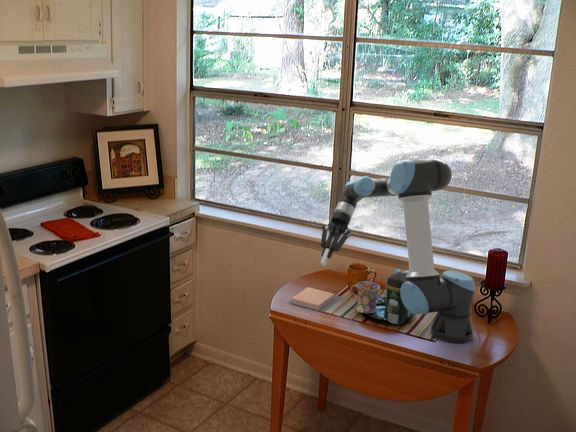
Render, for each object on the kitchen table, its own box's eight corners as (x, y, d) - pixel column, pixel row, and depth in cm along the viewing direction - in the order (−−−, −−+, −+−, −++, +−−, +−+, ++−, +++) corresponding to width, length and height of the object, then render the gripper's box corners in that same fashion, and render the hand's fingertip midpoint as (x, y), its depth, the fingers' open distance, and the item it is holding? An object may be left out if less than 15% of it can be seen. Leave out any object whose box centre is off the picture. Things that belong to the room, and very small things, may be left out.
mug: (382, 310, 256) (384, 285, 253) (371, 318, 249) (373, 292, 246) (354, 302, 262) (356, 277, 259) (343, 309, 255) (345, 284, 252)
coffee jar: (390, 313, 254) (395, 268, 249) (409, 318, 250) (414, 273, 245) (379, 321, 246) (384, 275, 241) (399, 327, 242) (404, 280, 237)
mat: (309, 290, 272) (309, 288, 272) (343, 299, 265) (344, 297, 265) (287, 304, 257) (287, 302, 257) (324, 314, 250) (324, 312, 250)
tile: (307, 287, 268) (291, 298, 256) (334, 293, 263) (318, 305, 251) (307, 291, 269) (291, 302, 257) (334, 298, 263) (318, 310, 251)
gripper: (359, 222, 272) (340, 271, 262) (330, 217, 278) (311, 265, 268) (355, 213, 266) (335, 263, 257) (326, 207, 272) (305, 256, 262)
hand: (322, 264), depth 262 cm, fingers closed
